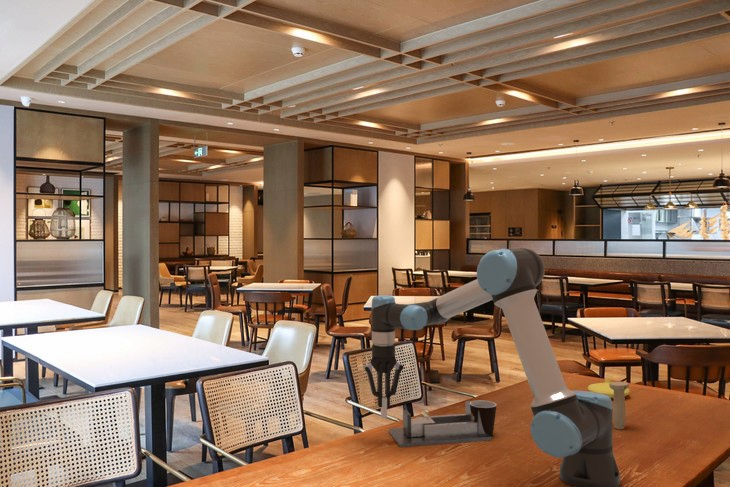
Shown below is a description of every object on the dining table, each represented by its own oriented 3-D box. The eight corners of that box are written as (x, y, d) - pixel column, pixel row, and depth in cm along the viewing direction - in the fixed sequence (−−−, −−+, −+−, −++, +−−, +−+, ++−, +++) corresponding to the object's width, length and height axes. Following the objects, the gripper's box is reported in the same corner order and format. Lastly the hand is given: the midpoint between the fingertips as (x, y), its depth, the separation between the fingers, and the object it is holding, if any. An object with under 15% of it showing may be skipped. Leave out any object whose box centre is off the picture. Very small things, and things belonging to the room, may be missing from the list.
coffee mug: (495, 439, 197) (495, 408, 197) (468, 437, 199) (468, 406, 199) (498, 428, 208) (498, 399, 208) (472, 426, 211) (472, 397, 210)
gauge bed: (491, 440, 197) (490, 411, 197) (399, 447, 192) (399, 418, 192) (473, 425, 213) (473, 399, 213) (388, 431, 208) (388, 404, 207)
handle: (606, 428, 208) (606, 383, 208) (619, 425, 211) (619, 381, 211) (618, 431, 203) (618, 386, 203) (632, 428, 206) (631, 383, 206)
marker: (429, 425, 208) (428, 411, 208) (426, 426, 208) (426, 411, 208) (427, 424, 210) (427, 410, 210) (424, 424, 210) (424, 410, 210)
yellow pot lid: (632, 394, 251) (632, 377, 251) (626, 403, 238) (625, 385, 238) (592, 389, 259) (592, 373, 259) (583, 398, 246) (583, 380, 246)
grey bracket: (435, 434, 199) (435, 413, 199) (407, 437, 197) (407, 415, 197) (425, 424, 210) (425, 404, 210) (399, 426, 208) (399, 406, 208)
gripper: (400, 341, 204) (400, 412, 204) (361, 342, 201) (361, 414, 202) (406, 345, 196) (406, 419, 197) (365, 346, 194) (366, 421, 194)
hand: (383, 416), depth 199 cm, fingers closed
